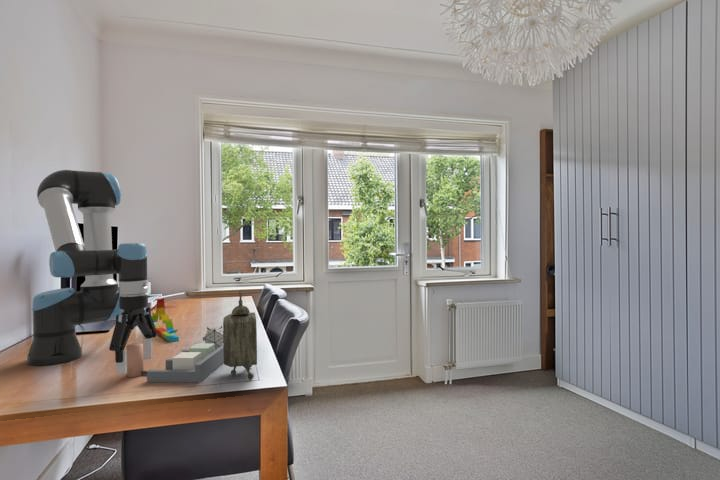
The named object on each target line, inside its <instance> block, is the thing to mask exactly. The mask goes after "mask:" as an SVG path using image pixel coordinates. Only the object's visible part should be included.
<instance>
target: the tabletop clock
mask: <svg viewBox="0 0 720 480" xmlns="http://www.w3.org/2000/svg"><path fill="white" fill-rule="evenodd" d="M238 293H239V300H238V305H237V306H235V307H234V308H233V309H232V311H231V313H229V314H227V315H226V316H224V317H223V321H222V331H223V351H224V363H223V365H225V366H226V367H229V368H232V370H231V371H230V375H231V376H236V374H237V370H236V369H237V367H243V368H244V369H245V371H246V372H247V378H248V379H249V380H252V379H254V373H251V371H250V369H251V368H252V367H253V366H255V365H258V338H257V337H258V336H257V335H258V334H257V333H258V332H257V331H258V330H257V327H258V326H257V316H256V312H251V311H250V309H249V308H248V306H246V305H243V300H242V298H243V297H242V295H243V294H242V290H239V292H238Z"/></svg>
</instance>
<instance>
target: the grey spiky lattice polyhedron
mask: <svg viewBox="0 0 720 480" xmlns="http://www.w3.org/2000/svg"><path fill="white" fill-rule="evenodd" d="M206 329H207V331H206V333H205V335H204V336H203V337H202V341H203V342H205V343H215V349H218V348H219V347H220V346H222V345H223V325H221V326H220V327H212V328H209V327H208V326H206Z"/></svg>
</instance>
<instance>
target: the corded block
mask: <svg viewBox="0 0 720 480" xmlns="http://www.w3.org/2000/svg"><path fill="white" fill-rule="evenodd" d="M125 348H126V349H125V350H126V354H127V373H126V377H128V378H136V377H141V376H143V375H146V376H147V371H148V370H144V359H143V342H132V343H127V344H126V346H125ZM171 359H173V370H195V364H197V363H198V362H199V361H201V360H202V354H201V352H182V351H181V352H180V353H178V354H177V355H174V356H173V357H172V358H171Z"/></svg>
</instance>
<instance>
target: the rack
mask: <svg viewBox="0 0 720 480" xmlns="http://www.w3.org/2000/svg"><path fill="white" fill-rule="evenodd" d="M182 352H189V349H182V350H181V353H182ZM221 365H224V351H223V345H222V346H220V347H219V348H215V351H213V352H212V353H211V354H209V355H208V356H206V357H205V358H204V359H202V360H201V361H199V362H198V363H197V364H195V370H173V359H172V358H167V359H166V360H165V369H148V370H146V371H147V375H146V382H147V383H201V382H203V381H204V380H205V379H206V378H208V377H209V376H210V375H211V374H212V373H214V371H216V370H217V369H218V368H220V367H221Z"/></svg>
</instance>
